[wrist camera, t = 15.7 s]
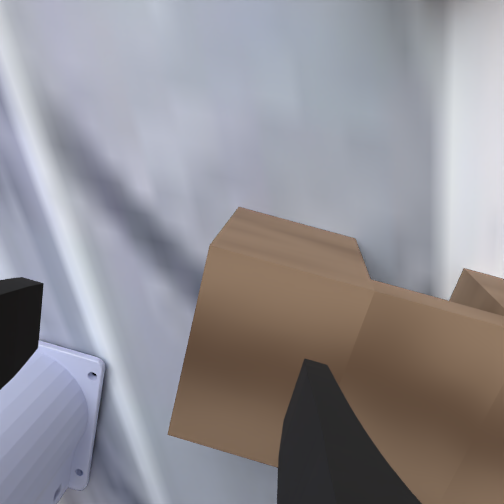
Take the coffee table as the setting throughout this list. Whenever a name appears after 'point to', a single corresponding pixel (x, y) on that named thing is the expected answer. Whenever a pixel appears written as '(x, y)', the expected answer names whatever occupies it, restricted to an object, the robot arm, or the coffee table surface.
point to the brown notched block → (346, 357)
